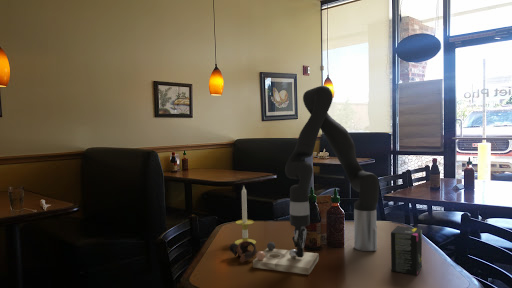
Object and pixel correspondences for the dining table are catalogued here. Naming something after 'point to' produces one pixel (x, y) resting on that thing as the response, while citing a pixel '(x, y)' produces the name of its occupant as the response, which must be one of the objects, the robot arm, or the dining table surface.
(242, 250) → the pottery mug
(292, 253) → the steel ball
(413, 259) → the tampon box
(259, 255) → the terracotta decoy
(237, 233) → the dining table surface
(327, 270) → the dining table surface
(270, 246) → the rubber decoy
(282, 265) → the board
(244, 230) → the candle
